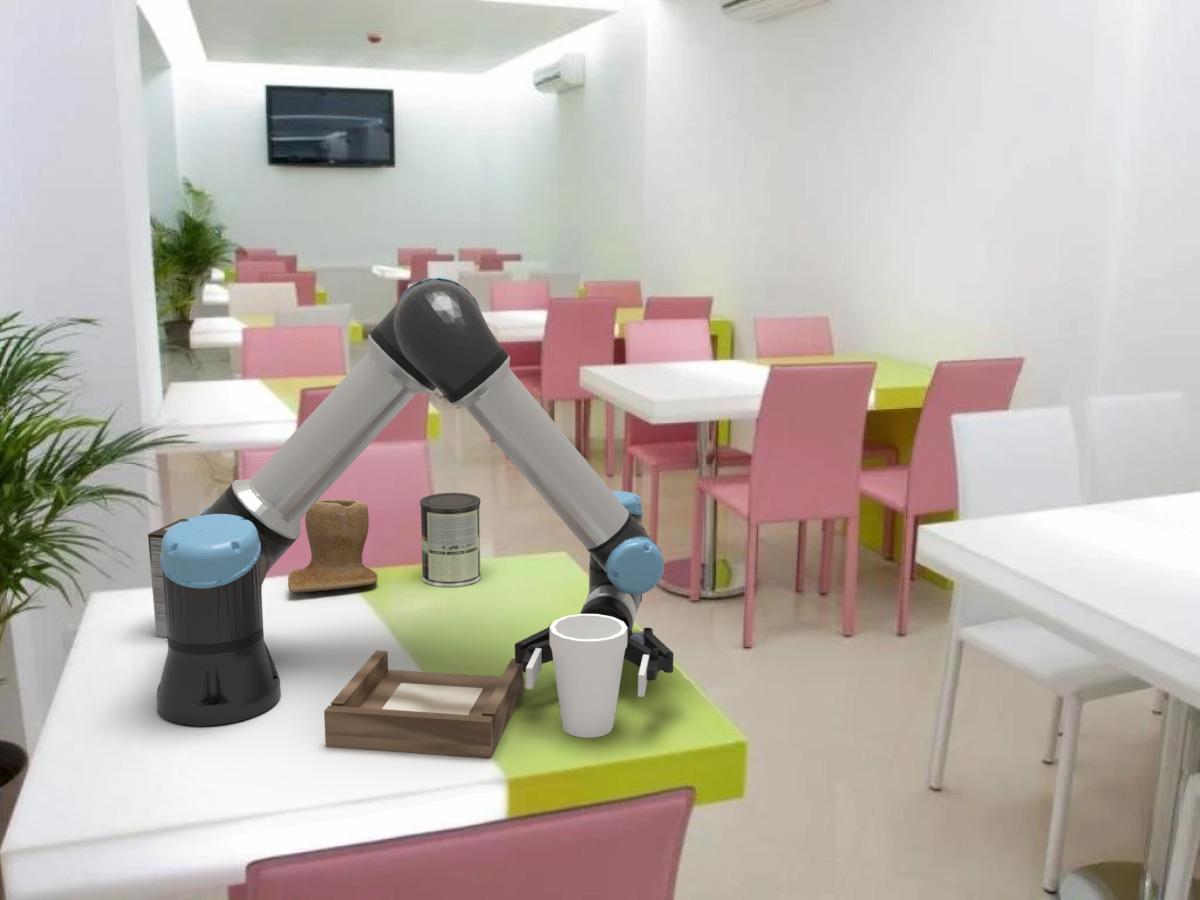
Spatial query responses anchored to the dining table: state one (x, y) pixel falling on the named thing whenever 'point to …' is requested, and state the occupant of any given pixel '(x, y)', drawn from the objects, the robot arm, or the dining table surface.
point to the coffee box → (158, 577)
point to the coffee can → (450, 539)
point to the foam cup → (588, 671)
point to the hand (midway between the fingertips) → (584, 682)
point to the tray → (423, 710)
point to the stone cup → (334, 548)
